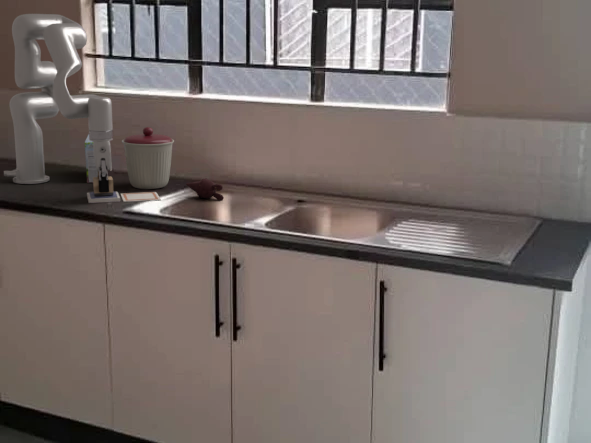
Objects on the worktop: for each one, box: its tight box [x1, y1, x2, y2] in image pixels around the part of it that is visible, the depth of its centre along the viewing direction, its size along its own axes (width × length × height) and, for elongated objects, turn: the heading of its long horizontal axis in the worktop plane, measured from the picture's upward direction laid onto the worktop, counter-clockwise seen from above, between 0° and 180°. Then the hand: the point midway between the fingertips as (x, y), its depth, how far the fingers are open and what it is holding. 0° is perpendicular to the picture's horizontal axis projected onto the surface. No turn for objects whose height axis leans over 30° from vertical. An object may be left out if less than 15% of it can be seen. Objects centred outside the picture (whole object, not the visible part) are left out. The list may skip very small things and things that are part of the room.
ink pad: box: [86, 190, 121, 204], centre depth 272 cm, size 10×10×2 cm
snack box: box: [84, 133, 98, 184], centre depth 305 cm, size 21×6×15 cm, turn 10°
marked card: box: [120, 191, 162, 203], centre depth 275 cm, size 12×12×1 cm
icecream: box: [185, 177, 224, 201], centre depth 275 cm, size 7×7×15 cm
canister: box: [121, 126, 175, 190], centre depth 290 cm, size 18×18×21 cm
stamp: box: [92, 172, 114, 196], centre depth 270 cm, size 6×6×7 cm
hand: (103, 189), depth 271 cm, fingers closed on stamp, 6 cm apart
